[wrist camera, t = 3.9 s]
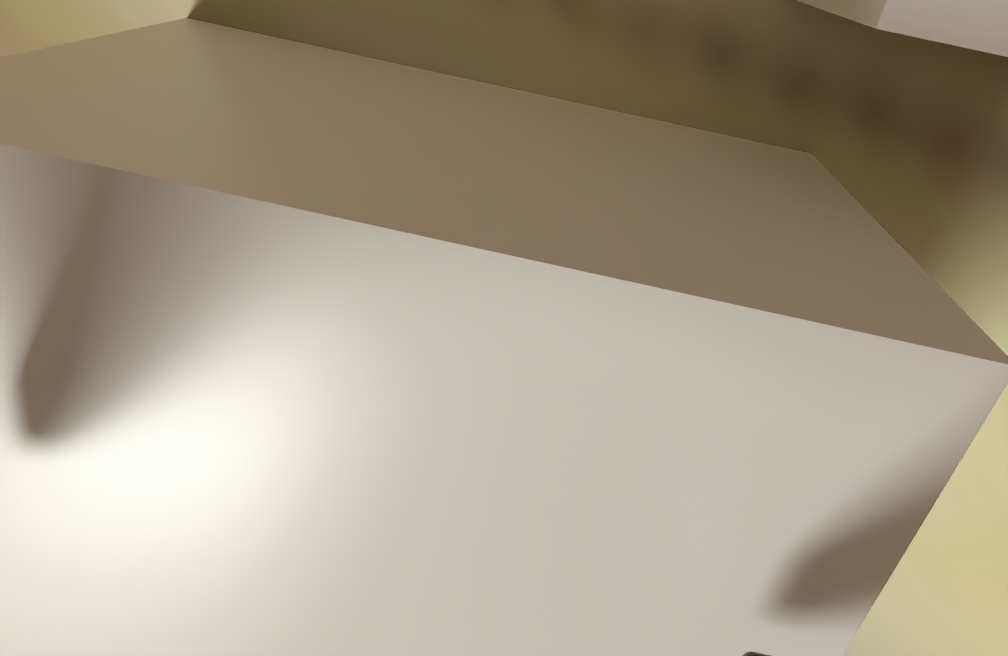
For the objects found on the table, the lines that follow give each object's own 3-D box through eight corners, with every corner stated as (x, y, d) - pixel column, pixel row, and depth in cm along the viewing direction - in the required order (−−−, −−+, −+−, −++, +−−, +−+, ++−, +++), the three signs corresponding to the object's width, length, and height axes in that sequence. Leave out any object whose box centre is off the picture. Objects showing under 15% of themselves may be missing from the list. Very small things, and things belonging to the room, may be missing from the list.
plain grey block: (683, 476, 18) (738, 825, 11) (193, 369, 18) (-62, 646, 11) (809, 151, 14) (1016, 366, 7) (190, 16, 14) (-201, 100, 7)
